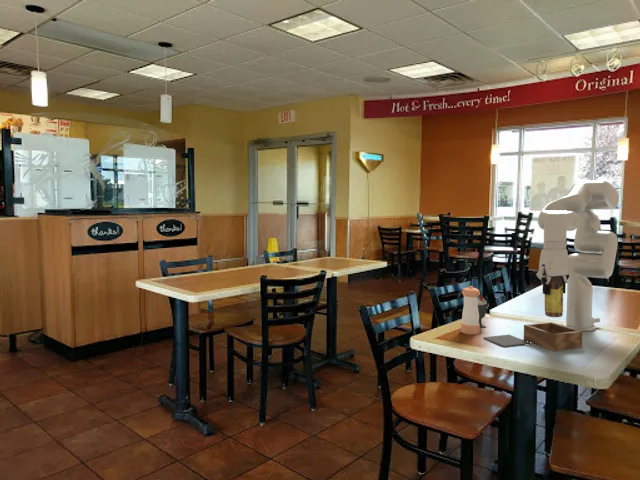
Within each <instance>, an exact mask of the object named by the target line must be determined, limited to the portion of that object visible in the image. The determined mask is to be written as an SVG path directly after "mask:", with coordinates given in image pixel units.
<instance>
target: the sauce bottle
mask: <svg viewBox="0 0 640 480" xmlns="http://www.w3.org/2000/svg"><path fill="white" fill-rule="evenodd" d="M546 280H547V277H546ZM549 284H550V295H546V294H544V315H545V316H546V317H549V318H561V317H563V312H564V293H563V283H562V280H561V278H560V276H556V277H551V279H550V282H549Z"/></svg>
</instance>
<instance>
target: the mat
mask: <svg viewBox="0 0 640 480" xmlns="http://www.w3.org/2000/svg"><path fill="white" fill-rule="evenodd" d="M483 339H484V340H485V341H487V342H490V343H493V344H495V345H497V346H499V347H502V348H509V347H510V346H512V347H518V346H517V345H520V346H526V345H525V344H529V345H531V344H532V343H530V342H527V341H525V340H524V339H521V338H519V337H517V336H514V335H511V334H502V335H491V336H483ZM483 339H482V340H483Z"/></svg>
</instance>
